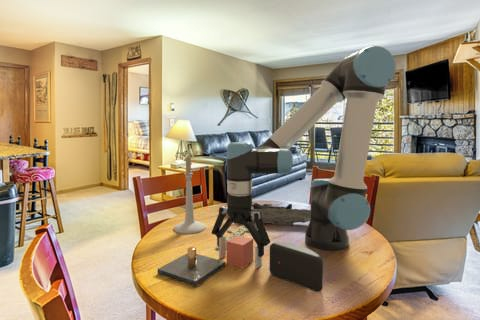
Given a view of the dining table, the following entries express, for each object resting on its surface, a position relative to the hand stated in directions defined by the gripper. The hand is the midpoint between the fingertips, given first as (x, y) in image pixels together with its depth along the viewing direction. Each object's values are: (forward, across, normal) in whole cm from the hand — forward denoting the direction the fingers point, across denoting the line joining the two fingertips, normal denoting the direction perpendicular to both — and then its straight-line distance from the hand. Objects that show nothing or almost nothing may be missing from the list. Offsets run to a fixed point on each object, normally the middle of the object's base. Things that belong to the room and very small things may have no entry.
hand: (239, 261), depth 99 cm
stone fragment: (0, -7, +40) cm, 40 cm away
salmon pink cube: (0, 0, 0) cm, 0 cm away
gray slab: (0, -9, -12) cm, 15 cm away
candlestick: (0, -34, +16) cm, 38 cm away
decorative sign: (+1, -13, +17) cm, 21 cm away
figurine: (+1, -20, +47) cm, 51 cm away
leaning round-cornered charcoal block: (0, +19, -3) cm, 20 cm away
